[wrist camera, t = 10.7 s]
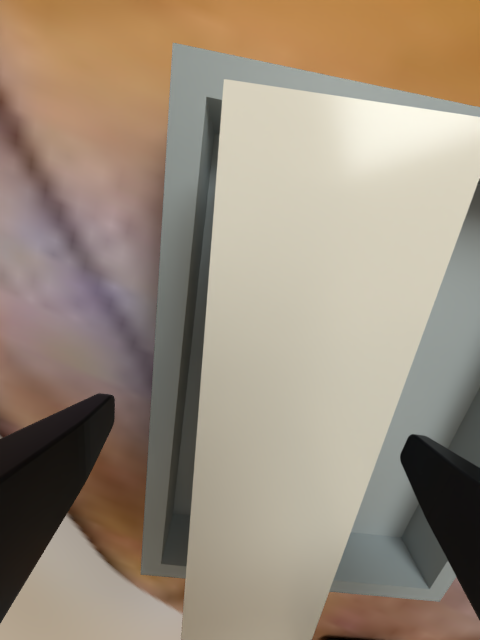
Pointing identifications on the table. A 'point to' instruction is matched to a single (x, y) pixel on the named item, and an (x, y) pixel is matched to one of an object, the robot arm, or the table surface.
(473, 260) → the divided grey tray
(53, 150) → the table surface
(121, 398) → the table surface
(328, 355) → the cream rectangular block
